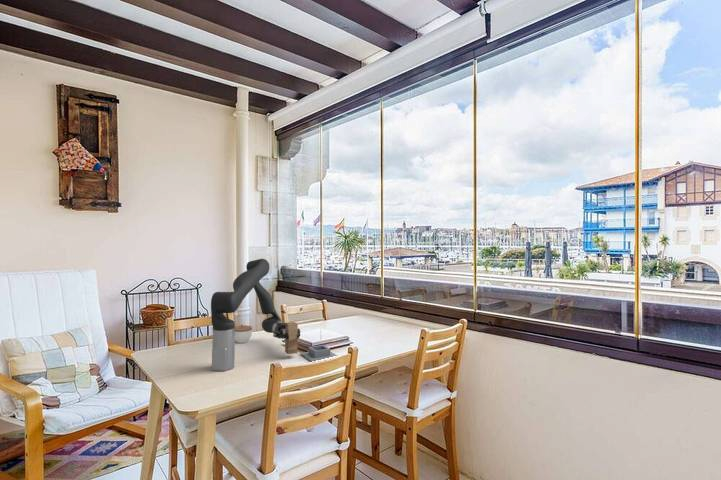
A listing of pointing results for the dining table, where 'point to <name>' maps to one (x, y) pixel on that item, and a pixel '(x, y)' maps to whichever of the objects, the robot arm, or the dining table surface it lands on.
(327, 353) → the slate stand
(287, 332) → the walnut block
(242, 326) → the lidded jar
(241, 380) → the dining table surface
